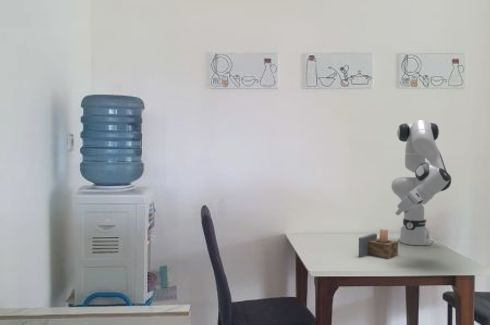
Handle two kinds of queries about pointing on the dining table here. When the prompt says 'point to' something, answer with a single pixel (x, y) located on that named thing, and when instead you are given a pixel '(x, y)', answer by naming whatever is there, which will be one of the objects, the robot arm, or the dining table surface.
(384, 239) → the dowel
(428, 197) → the robot arm
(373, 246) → the socket block
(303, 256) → the dining table surface
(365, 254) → the wall
